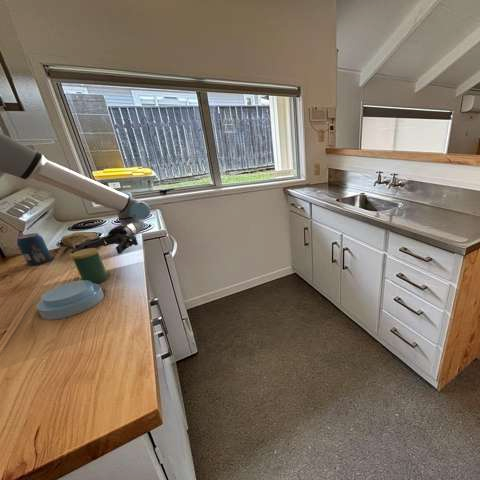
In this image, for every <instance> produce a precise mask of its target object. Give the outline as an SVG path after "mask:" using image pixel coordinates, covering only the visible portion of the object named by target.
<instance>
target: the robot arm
mask: <svg viewBox="0 0 480 480" xmlns="http://www.w3.org/2000/svg"><path fill="white" fill-rule="evenodd" d="M6 174H7V175H10V176H14V177H16V178H20V179H22V180H25V181H29V180H34V181H37V182H39V183H41V184H45V185H46V186H49V187H52V188H55V189H57V190H60V191H61V192H62V191H63V192H65V193H68V194H69V195H74V196H76V197H79V198H81V199H84V200H86V201H89V202H90V203H94V204H96V205H99V206H102V207H104V208H107V209H109V210H113V211H114V212H116V215H117V218H118V221H119V224H117V225H116V226H114V227H112V228H111V229H110V230H109V231H108V234H107V235H105V236H102V237H101V236H99V235H98V237H96V238H94V239H91V240H89V241H86V242H83V243H80V244H77V245H75V248H76V250H75V249H73V250H72V251H71V252H70V253H71V254H73V253H74V252H77V251H80V250H83V249H88V248H97V247H98V248H100V247H107V246H110V245H117V246H115V249H116V252H117V254H118V255H121V254H122V253H123V252H124V251H126V250H127V249H129V248H131V247H132V246H139V243H138V240H137V235H138V234H139V233H141V232H142V231H143V229H144V228H145V221H144V220H146V219H147V218H148V217H150V215H151V207H150V206H149V204H147V202H145V201H142V200H138V199H136V198H134V196H133V194H132V192H128V191H126V192H125V191H124V192H120V191H118V190H116V189H114V188H112V187H109V186H107V185H104V184H102V183H100V182H98V181H96V180H93V179H91V178H89V177H87V176H84V175H82V174H81V173H78V172H75V171H73V170H71V169H69V168H67V167H64V166H62V165H59V164H58V163H56V162H53V161H51V160H48V159H47V158H45V156H44V154H42V153H40V152H38V151H36V150H34V149H32V148H30V147H28V146H26V145H24V144H23V143H21V142H19V141H18V140H16V139H14V138H12V137H10V136H8V135H6V134H3V133H0V179H1V178H2V177H4V175H6ZM98 248H97V249H98ZM71 254H70V255H71Z"/></svg>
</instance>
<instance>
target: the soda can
mask: <svg viewBox="0 0 480 480" xmlns="http://www.w3.org/2000/svg"><path fill="white" fill-rule="evenodd" d="M16 244H17V246H18V248H19V251H21V254H22V256H23V258H24V260H25V262H26V264H27V265H29V266H38V265H43V264H46V263H48V262H50V261H52V259H53V257H52V255H51V253H50V251H49V249H48V246H47V244H46V242H45V240H44V238H43V236H42V235H40V234H39V233H37V232H36V233H35V232H34V233H28V234H23V235H20V236H18V237H17V241H16Z"/></svg>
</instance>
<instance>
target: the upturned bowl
mask: <svg viewBox="0 0 480 480" xmlns="http://www.w3.org/2000/svg"><path fill="white" fill-rule="evenodd" d="M104 297H105V294H104V291H103V289H102V286H101V285H100V284H95V283H92V282H91V281H88V280H82V279H81V280H74V281H70V282H65V283H63V284H60V285H58V286H54V287H53V288H51V289H49V290H47V291H45V292H44V293H43V294H42V295H41V297H40V301H38V303H37V304H36V310H37V311H38V313H39V315H40V317H41V318H42V319H44V320H49V321H52V320H60V319H65V318H69V317H72V316H76V315H78V314H81V313H83V312H85V311H87V310H90V309H91V308H93V307H95V306H96V305H98V304H99V303H100V302H101V301H102V300H103V299H104Z"/></svg>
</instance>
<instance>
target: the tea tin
mask: <svg viewBox="0 0 480 480" xmlns="http://www.w3.org/2000/svg"><path fill="white" fill-rule="evenodd" d="M70 256H71V259H72V260H73V263H74V264H75V268H76V270H77V272H78V273H79V276H80V279H81V280H88V281H91V282H92V283H95V284H98V285H100V284H101V283H104V282H105V281H107V280H109V276H108V273H107V270H106V268H105V266H104V263H103V260H102V257H101V255H100V252H99V248H88V249H83V250H80V251H77V252H74V253H73V254H70Z"/></svg>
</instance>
